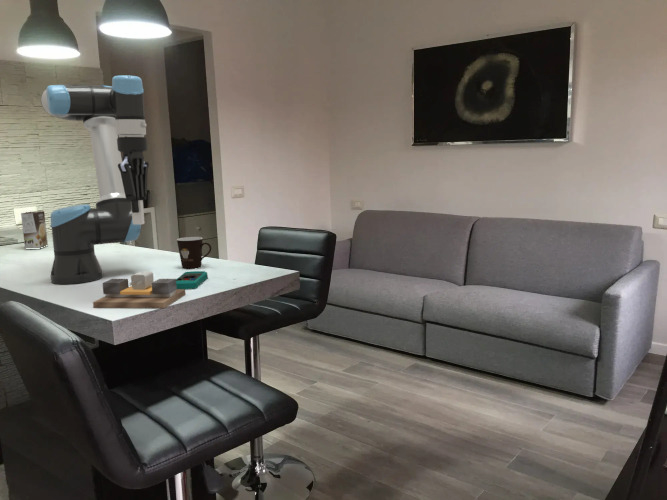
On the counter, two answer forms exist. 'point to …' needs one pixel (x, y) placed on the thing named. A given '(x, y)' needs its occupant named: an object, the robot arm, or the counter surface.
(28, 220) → the coffee box
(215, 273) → the counter surface
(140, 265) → the counter surface
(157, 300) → the board
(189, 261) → the coffee mug
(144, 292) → the orange flat plate
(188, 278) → the digital multimeter
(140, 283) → the usb wall charger
